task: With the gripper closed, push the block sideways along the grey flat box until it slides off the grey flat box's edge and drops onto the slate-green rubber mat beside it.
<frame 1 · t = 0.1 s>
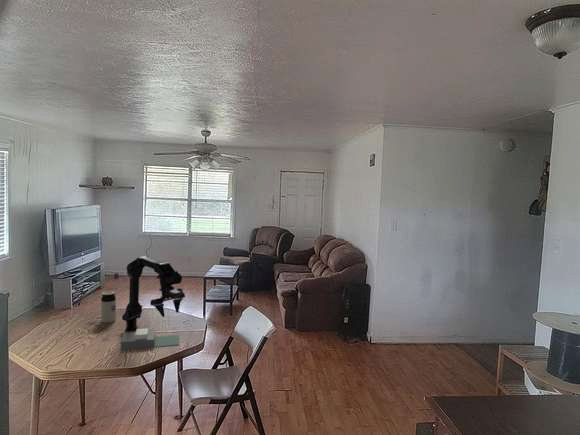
hand: (170, 314, 202), 15 cm above the table, tool pointing down, fingers open, 9 cm apart
travel mug: (108, 321, 235), on the table
block: (141, 335, 202), point 4 cm above the table, touching grey flat box
grey flat box: (138, 343, 202), on the table
mat: (167, 341, 206), on the table
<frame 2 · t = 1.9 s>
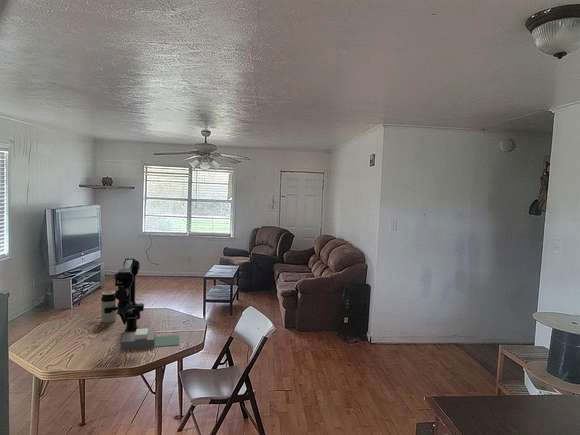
hand: (124, 324, 199), 11 cm above the table, tool pointing down, fingers closed
nothing on the table moved.
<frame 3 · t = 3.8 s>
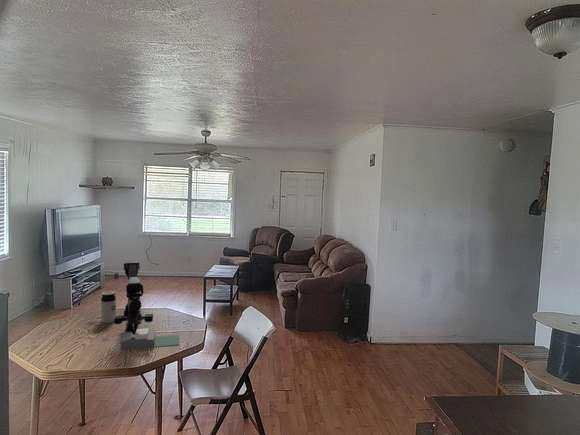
hand: (134, 334, 201), 5 cm above the table, tool pointing down, fingers closed
block: (142, 335, 202), point 4 cm above the table, touching gripper
everything else where it was.
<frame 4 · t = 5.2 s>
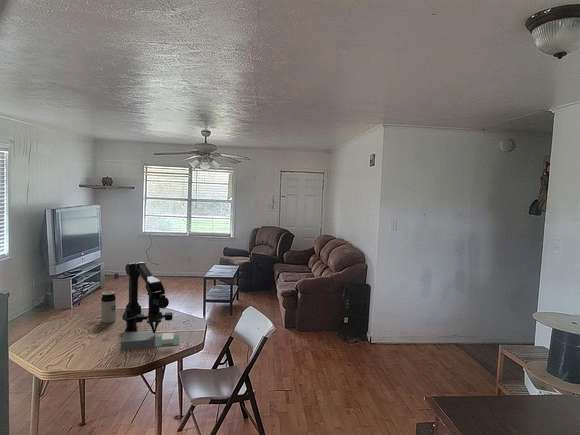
hand: (154, 333, 203), 5 cm above the table, tool pointing down, fingers closed
block: (167, 336, 206), point 3 cm above the table, tilted 180°, touching mat
everything else where it was.
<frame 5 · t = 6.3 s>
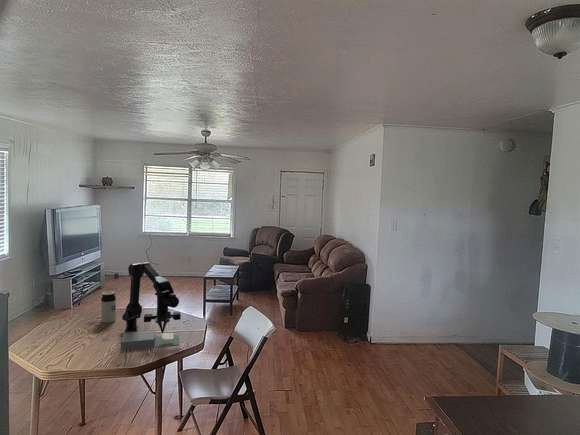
hand: (162, 332, 205), 5 cm above the table, tool pointing down, fingers closed
nothing on the table moved.
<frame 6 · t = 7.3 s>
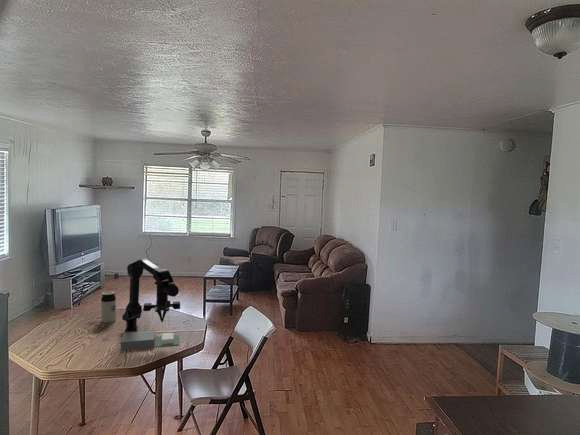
hand: (162, 321, 205), 11 cm above the table, tool pointing down, fingers closed
nothing on the table moved.
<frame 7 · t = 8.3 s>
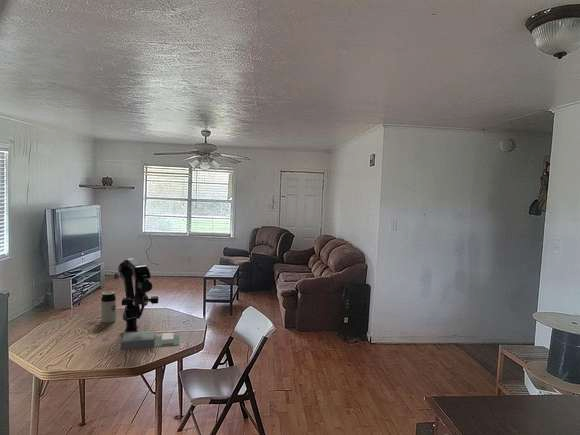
hand: (140, 315, 210), 12 cm above the table, tool pointing down, fingers closed
nothing on the table moved.
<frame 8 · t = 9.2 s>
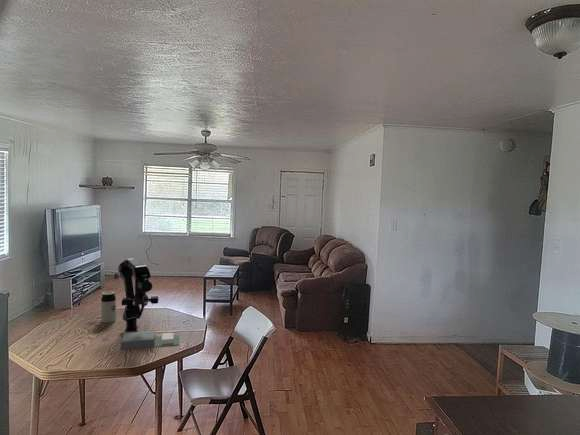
hand: (140, 315, 210), 12 cm above the table, tool pointing down, fingers closed
nothing on the table moved.
at the end: block point 2.8 cm above the table; block inside the target area (0.1 cm from its centre), point 2.8 cm above the table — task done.
